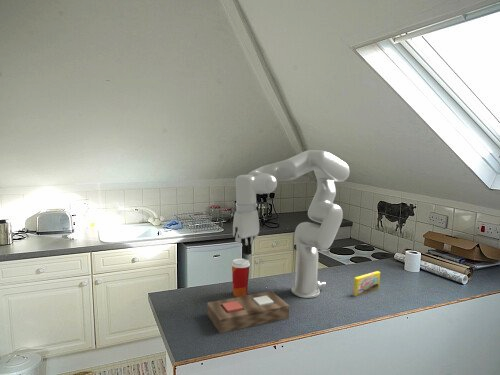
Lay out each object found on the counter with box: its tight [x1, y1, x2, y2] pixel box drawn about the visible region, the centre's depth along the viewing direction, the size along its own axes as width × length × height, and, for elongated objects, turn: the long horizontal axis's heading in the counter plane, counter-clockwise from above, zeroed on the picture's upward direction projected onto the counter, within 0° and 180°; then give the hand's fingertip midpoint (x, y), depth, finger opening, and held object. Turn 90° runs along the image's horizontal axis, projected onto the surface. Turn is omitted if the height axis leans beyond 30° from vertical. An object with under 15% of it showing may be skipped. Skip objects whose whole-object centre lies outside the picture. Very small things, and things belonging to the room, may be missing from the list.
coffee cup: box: [230, 258, 251, 298], centre depth 157 cm, size 8×8×15 cm
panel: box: [206, 290, 290, 334], centre depth 139 cm, size 28×14×5 cm, turn 115°
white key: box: [253, 296, 274, 307], centre depth 141 cm, size 6×6×3 cm
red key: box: [222, 301, 243, 313], centre depth 136 cm, size 6×6×3 cm
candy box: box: [352, 270, 382, 297], centre depth 163 cm, size 16×2×8 cm, turn 124°
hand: (247, 253), depth 141 cm, fingers closed
